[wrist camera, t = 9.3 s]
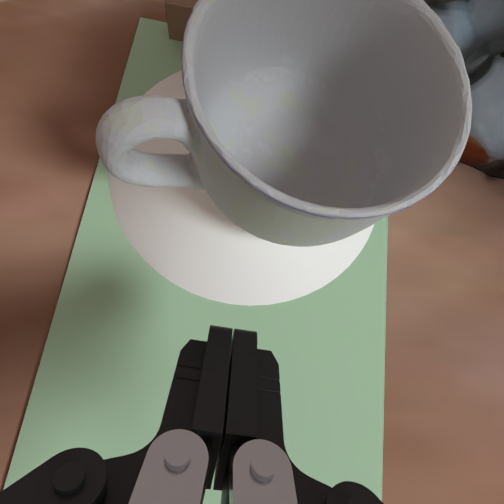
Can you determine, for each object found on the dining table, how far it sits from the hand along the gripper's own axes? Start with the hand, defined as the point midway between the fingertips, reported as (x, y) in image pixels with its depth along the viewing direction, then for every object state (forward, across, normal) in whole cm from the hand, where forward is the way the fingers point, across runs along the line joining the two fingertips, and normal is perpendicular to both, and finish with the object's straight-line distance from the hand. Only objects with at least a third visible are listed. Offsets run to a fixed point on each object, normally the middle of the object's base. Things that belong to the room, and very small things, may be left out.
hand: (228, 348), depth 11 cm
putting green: (+8, 0, 0) cm, 8 cm away
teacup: (+11, -1, -2) cm, 11 cm away
